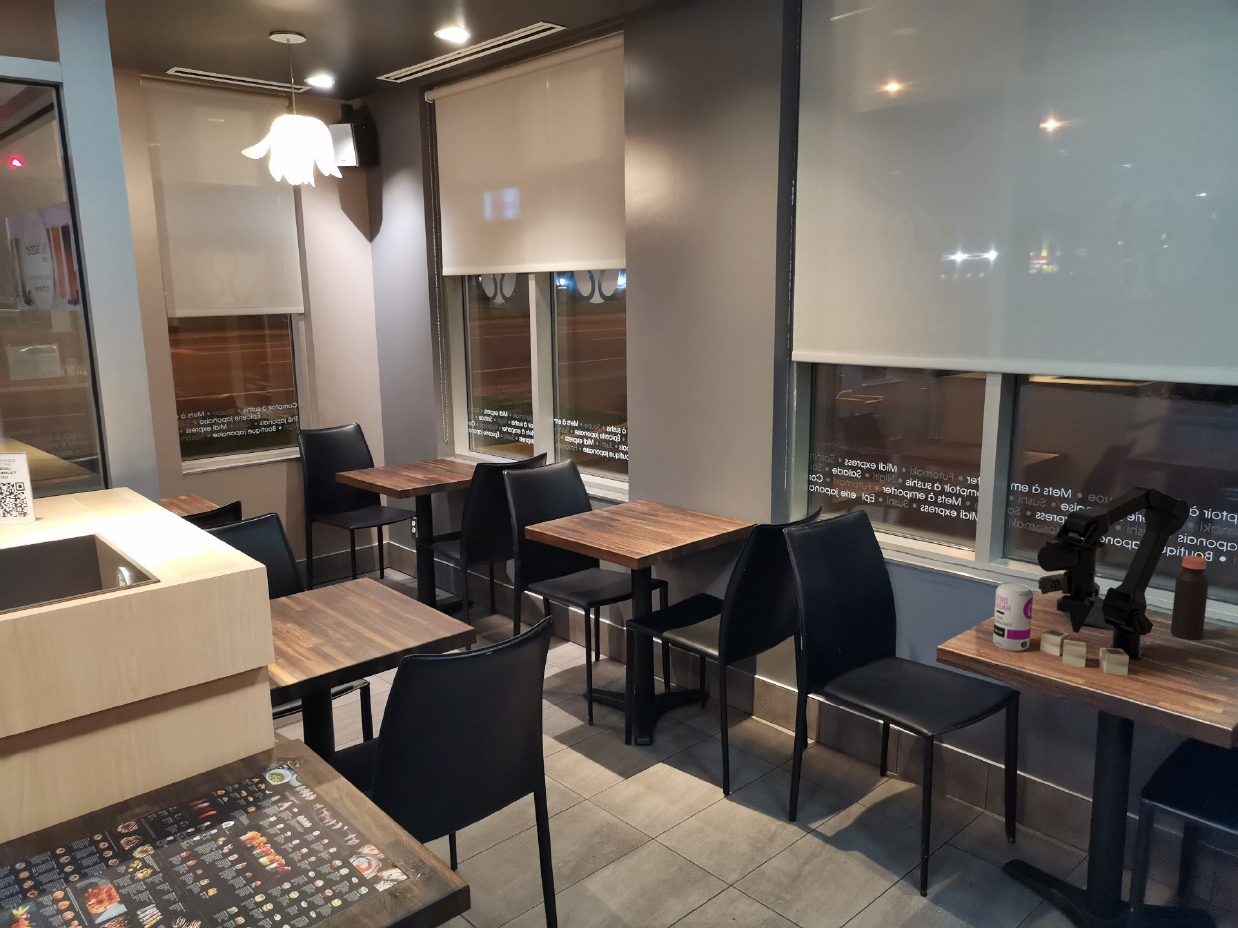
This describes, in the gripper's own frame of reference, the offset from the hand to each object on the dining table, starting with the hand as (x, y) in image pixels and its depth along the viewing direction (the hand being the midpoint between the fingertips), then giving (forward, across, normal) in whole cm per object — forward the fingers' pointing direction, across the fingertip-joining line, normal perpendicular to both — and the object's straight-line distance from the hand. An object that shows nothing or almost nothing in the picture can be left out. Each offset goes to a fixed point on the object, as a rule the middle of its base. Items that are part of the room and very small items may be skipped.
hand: (1075, 632), depth 199 cm
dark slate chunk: (+8, -38, -2) cm, 39 cm away
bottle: (+8, -35, +20) cm, 41 cm away
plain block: (+8, 0, 0) cm, 8 cm away
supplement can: (+8, -3, -14) cm, 16 cm away
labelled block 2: (+8, 0, +8) cm, 11 cm away
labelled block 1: (+8, -5, -5) cm, 10 cm away
